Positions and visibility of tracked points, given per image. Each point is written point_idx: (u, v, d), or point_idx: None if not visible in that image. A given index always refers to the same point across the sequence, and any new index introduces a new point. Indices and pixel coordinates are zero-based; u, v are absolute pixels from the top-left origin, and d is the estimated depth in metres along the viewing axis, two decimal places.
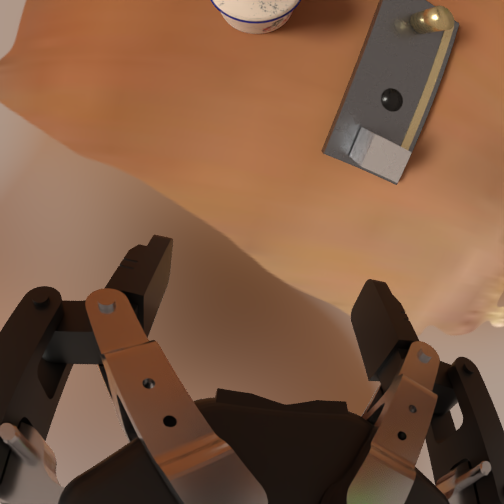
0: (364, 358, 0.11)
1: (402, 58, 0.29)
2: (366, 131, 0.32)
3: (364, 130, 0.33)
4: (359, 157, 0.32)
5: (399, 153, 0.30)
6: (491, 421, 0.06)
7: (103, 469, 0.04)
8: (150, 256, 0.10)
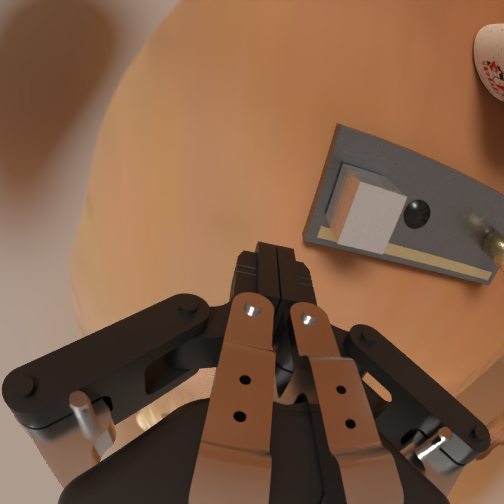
0: None
1: (460, 223, 0.27)
2: (391, 184, 0.23)
3: (388, 181, 0.23)
4: (363, 178, 0.21)
5: (381, 237, 0.22)
6: (422, 383, 0.07)
7: (103, 469, 0.04)
8: (266, 262, 0.11)
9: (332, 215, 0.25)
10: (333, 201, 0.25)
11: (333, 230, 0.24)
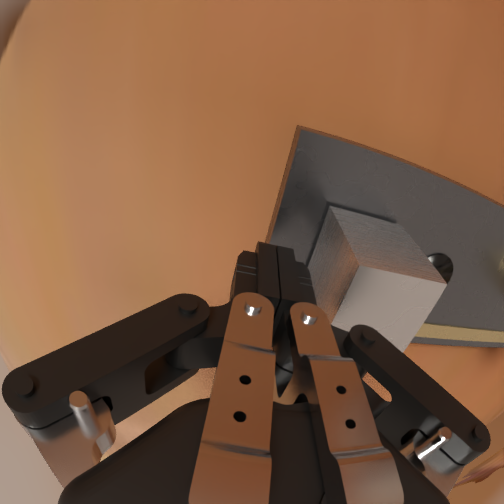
0: None
1: (492, 281, 0.16)
2: (416, 247, 0.12)
3: (409, 239, 0.13)
4: (366, 248, 0.11)
5: None
6: (422, 383, 0.07)
7: (103, 469, 0.04)
8: (266, 262, 0.11)
9: None
10: (311, 273, 0.15)
11: None
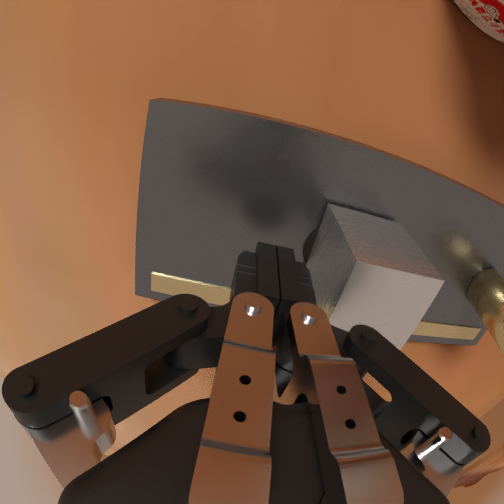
0: None
1: None
2: (414, 244, 0.12)
3: (407, 236, 0.13)
4: (364, 244, 0.11)
5: None
6: (422, 383, 0.07)
7: (103, 469, 0.04)
8: (267, 262, 0.11)
9: None
10: (310, 269, 0.15)
11: None
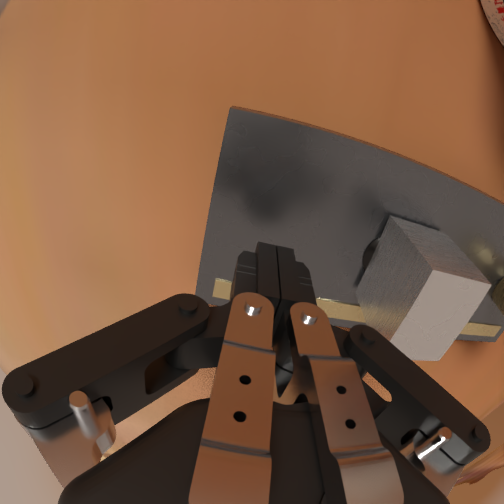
0: None
1: None
2: (462, 253, 0.13)
3: (455, 245, 0.14)
4: (431, 254, 0.12)
5: (443, 342, 0.13)
6: (422, 383, 0.07)
7: (103, 469, 0.04)
8: (267, 262, 0.11)
9: (368, 299, 0.15)
10: (372, 275, 0.16)
11: None
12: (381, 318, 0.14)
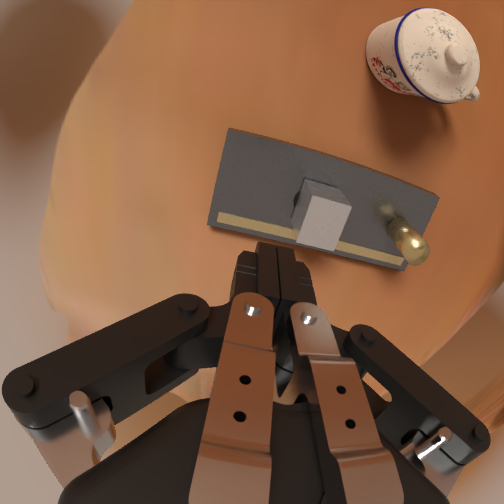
0: None
1: (356, 210, 0.34)
2: (342, 195, 0.30)
3: (341, 193, 0.31)
4: (317, 192, 0.29)
5: (331, 238, 0.30)
6: (422, 383, 0.07)
7: (103, 469, 0.04)
8: (267, 262, 0.11)
9: (294, 220, 0.32)
10: (296, 208, 0.33)
11: (294, 232, 0.31)
12: (298, 225, 0.31)
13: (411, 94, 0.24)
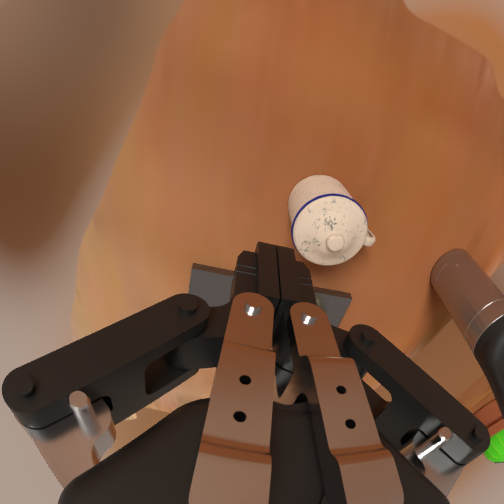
0: None
1: None
2: None
3: None
4: None
5: None
6: (422, 383, 0.07)
7: (103, 469, 0.04)
8: (266, 262, 0.11)
9: None
10: None
11: None
12: None
13: None
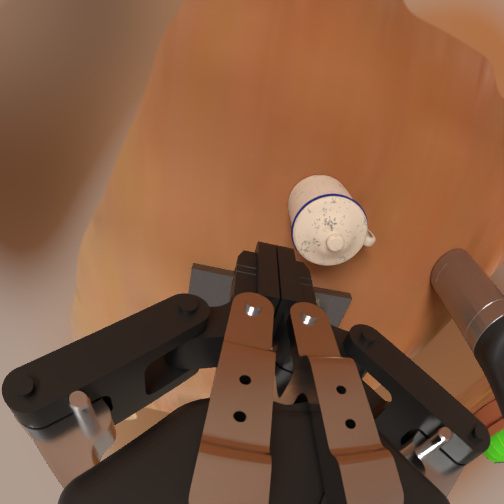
0: None
1: None
2: None
3: None
4: None
5: None
6: (422, 383, 0.07)
7: (103, 469, 0.04)
8: (266, 262, 0.11)
9: None
10: None
11: None
12: None
13: None
